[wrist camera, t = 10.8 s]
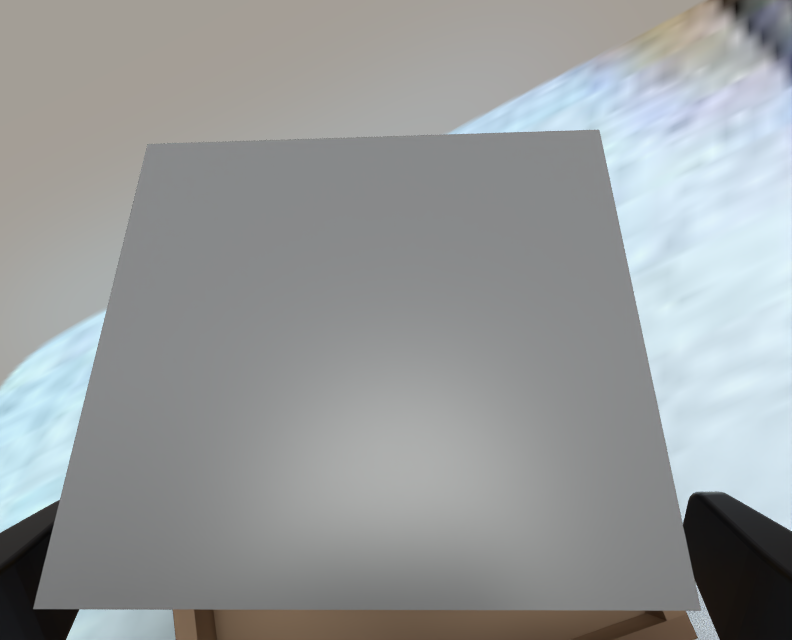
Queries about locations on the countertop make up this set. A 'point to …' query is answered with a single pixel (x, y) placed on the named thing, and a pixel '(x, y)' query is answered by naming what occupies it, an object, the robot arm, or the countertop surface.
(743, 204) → the countertop surface
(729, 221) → the countertop surface
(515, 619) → the tray
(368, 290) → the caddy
